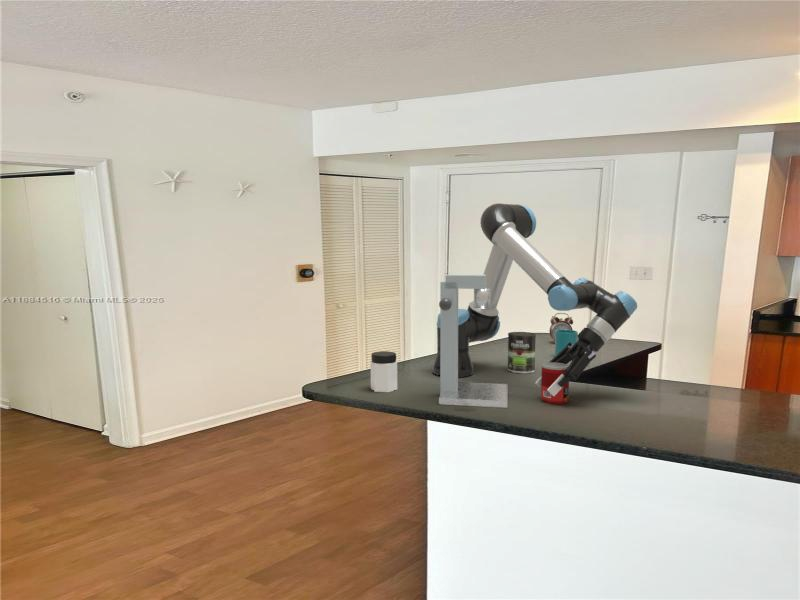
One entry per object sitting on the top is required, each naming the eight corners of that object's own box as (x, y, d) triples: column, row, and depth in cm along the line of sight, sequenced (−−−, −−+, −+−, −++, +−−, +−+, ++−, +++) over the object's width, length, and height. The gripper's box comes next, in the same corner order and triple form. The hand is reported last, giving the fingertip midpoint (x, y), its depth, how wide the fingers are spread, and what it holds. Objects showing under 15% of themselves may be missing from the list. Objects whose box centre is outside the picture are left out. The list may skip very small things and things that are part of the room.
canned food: (569, 404, 159) (570, 368, 158) (541, 403, 161) (542, 367, 159) (567, 397, 166) (567, 362, 165) (540, 396, 168) (541, 361, 167)
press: (445, 387, 180) (445, 273, 176) (507, 390, 176) (509, 273, 172) (435, 406, 158) (435, 277, 154) (507, 410, 154) (509, 277, 150)
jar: (400, 391, 175) (400, 355, 174) (376, 393, 172) (376, 356, 171) (391, 385, 184) (391, 350, 183) (368, 387, 181) (368, 351, 180)
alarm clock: (549, 344, 259) (550, 313, 258) (548, 342, 264) (549, 312, 263) (573, 344, 258) (574, 313, 256) (571, 343, 262) (572, 312, 261)
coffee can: (533, 374, 198) (533, 336, 196) (505, 372, 201) (505, 334, 200) (537, 368, 207) (537, 332, 206) (510, 366, 211) (510, 331, 210)
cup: (586, 357, 228) (586, 331, 227) (567, 360, 222) (568, 333, 220) (568, 353, 236) (569, 328, 235) (550, 357, 229) (550, 330, 228)
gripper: (622, 349, 154) (568, 407, 153) (586, 337, 175) (538, 389, 173) (605, 331, 153) (551, 390, 152) (571, 321, 173) (522, 373, 172)
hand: (544, 389), depth 163 cm, fingers closed on canned food, 8 cm apart
